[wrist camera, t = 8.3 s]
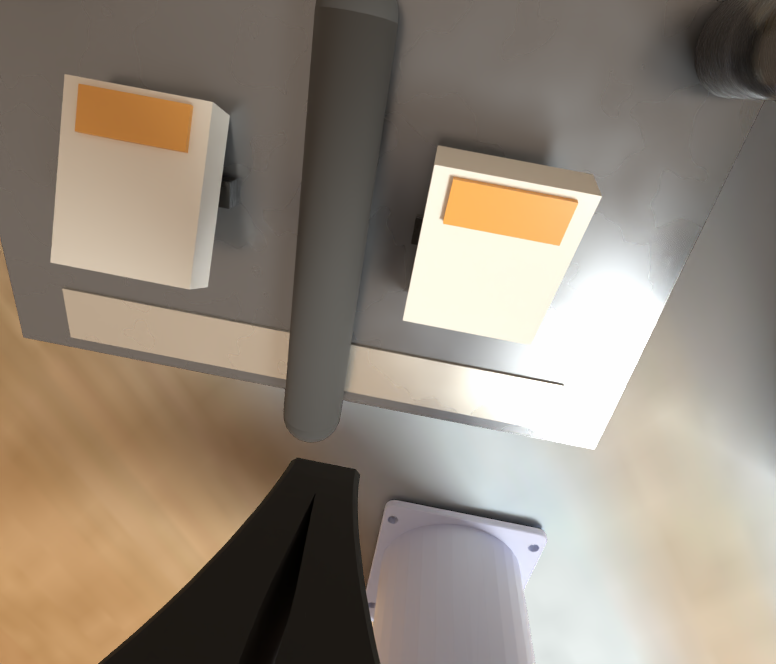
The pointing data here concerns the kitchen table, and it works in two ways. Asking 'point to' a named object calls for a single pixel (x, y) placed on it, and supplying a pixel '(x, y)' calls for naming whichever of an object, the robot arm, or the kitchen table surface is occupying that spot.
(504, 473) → the kitchen table surface
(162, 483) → the kitchen table surface
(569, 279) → the panel
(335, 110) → the dark grey rod
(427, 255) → the paddle
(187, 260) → the paddle
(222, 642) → the robot arm
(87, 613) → the kitchen table surface
